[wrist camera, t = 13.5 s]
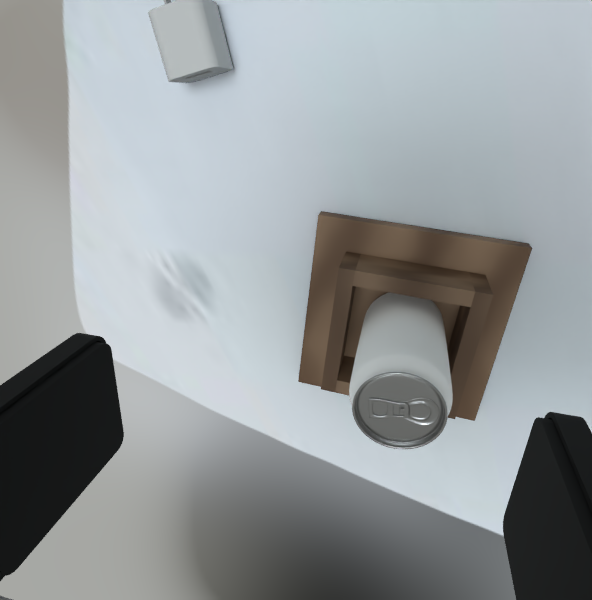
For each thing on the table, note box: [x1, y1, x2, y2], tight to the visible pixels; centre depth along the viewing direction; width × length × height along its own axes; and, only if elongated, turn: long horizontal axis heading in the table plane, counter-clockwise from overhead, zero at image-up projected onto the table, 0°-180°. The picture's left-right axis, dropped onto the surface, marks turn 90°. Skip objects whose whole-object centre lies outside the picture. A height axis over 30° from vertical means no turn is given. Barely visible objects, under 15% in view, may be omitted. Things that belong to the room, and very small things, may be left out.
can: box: [349, 293, 453, 449], centre depth 33 cm, size 6×6×12 cm
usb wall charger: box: [148, 0, 233, 83], centre depth 32 cm, size 4×7×4 cm, turn 14°
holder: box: [298, 211, 532, 421], centre depth 37 cm, size 16×16×5 cm
